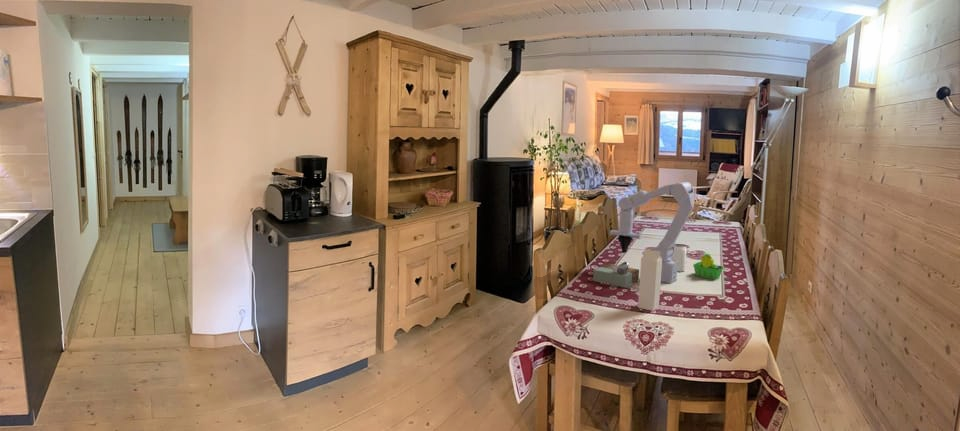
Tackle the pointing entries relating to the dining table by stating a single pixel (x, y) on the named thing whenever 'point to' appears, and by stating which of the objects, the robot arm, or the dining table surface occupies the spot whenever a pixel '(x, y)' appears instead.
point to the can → (679, 257)
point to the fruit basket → (707, 268)
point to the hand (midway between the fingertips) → (624, 252)
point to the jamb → (634, 271)
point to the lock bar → (618, 267)
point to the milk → (650, 280)
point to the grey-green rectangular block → (613, 276)
